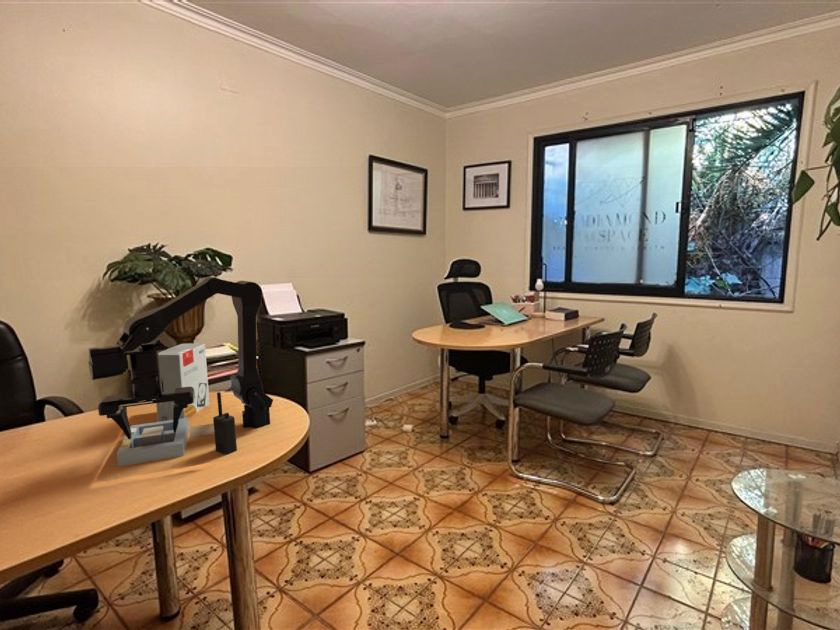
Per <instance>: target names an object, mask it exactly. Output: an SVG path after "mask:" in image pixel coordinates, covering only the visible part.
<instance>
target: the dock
mask: <svg viewBox="0 0 840 630" xmlns="http://www.w3.org/2000/svg"><path fill="white" fill-rule="evenodd" d="M189 423H190V421H189V419H188V418H182V419H179V421H178V425H177V429H176V432H175V433H174V431H173V420H168V421H161V422H158V421H156V422H148V423H140V424H132V425H130V429H131V439H128V438H127V436H126V435H125V437H124V439H123V440H122V443H121V444H120V446H119V447H118V449H117V451H116V461H117V462H116V463H117V467H125V466H129V465H135V464H142V463H147V462H149V463H150V462H155V461H159V460H166V459H172V458H178V457H182V456H184V455H185V452H186V446H187V442H188V437H189V431H190V424H189ZM159 426H163V428H164V438H165V443H161V444H154V445H148V446H142V438H141V434H142V432H143V430H144V429H145V428H152V427H159Z"/></svg>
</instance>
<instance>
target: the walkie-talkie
mask: <svg viewBox="0 0 840 630" xmlns="http://www.w3.org/2000/svg"><path fill="white" fill-rule="evenodd" d="M221 394H222V393H221V392H219V391H218V392H217V393H216V398H217V409H218V410H217V411H218V415H216V416H214V417H213V421H212V422H213V424H214V433H215V435H214V441H215V443H214V444H215V451H216V452H217V453H219V454H223V455H230V454H233V453H234V452H236V451H238V446H237V445H238V444H237V434H236V433H237V432H236V420H235V419H236V418H235V417H234V416H233V415H230V413H229V412H224V413H223V404H222V395H221Z"/></svg>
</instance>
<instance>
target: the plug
mask: <svg viewBox="0 0 840 630" xmlns="http://www.w3.org/2000/svg"><path fill="white" fill-rule="evenodd" d="M141 438H142V446H148V445H154V444H161V443H165V438H164V428H163V426H159V427H152V428H145V429H144V430H143V432H142V434H141Z"/></svg>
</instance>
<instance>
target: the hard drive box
mask: <svg viewBox="0 0 840 630" xmlns="http://www.w3.org/2000/svg"><path fill="white" fill-rule="evenodd" d="M158 354H159V364H160V373H161V377H163V378H164V390H165V391H164V392H163V394H168V393H174V392H175V389H176V388H182V387H190V386H191V387H193V388H194V392H195V398H194V403H192V404H188V407H187V408H184V409H183V410H182V412H181V415H180V417H179V419H182V418H188V420H189V419H190V418H192V417H193V416H194V415H196V414H197V413H198V412H200V411H201V410H202V409H204V408H205V407H208V406H210V405H211V404H210V393H209V392H210V391H209V379H208V377H209V376H208V367H207V366H208V365H207V355H206V354H207V351H206V343H180V344H178V345H175V346H172V347H170V348H168V349H166V350H161V351H160V352H159V351H158ZM155 404H156V405H155V406H156V407H155V408H156V416H157V417H156V418H157V422H161V421H168V420H173V408H174V405H175V403H174V401H170V402H162V403H155Z"/></svg>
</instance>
